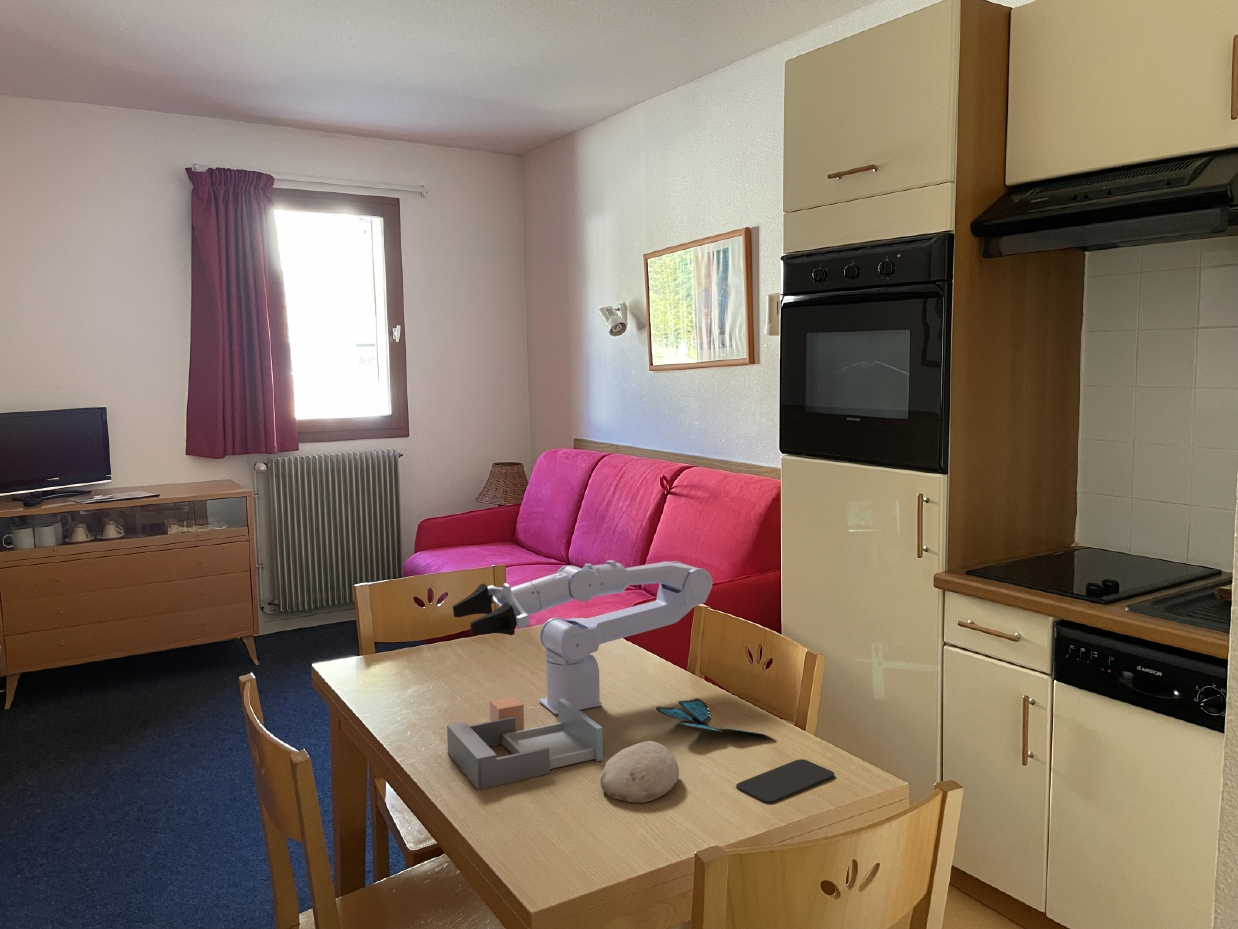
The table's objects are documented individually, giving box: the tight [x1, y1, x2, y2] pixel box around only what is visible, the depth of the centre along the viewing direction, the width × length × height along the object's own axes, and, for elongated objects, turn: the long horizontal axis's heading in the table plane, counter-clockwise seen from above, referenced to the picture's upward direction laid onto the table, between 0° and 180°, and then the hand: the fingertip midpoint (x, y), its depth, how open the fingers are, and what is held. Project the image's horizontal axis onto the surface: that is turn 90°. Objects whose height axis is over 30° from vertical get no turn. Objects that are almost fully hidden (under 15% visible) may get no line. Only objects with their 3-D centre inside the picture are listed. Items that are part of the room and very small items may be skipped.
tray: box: [501, 699, 604, 770], centre depth 150 cm, size 12×15×5 cm
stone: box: [600, 740, 680, 804], centre depth 137 cm, size 13×10×8 cm
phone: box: [735, 758, 835, 805], centre depth 138 cm, size 7×1×15 cm
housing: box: [446, 717, 551, 791], centre depth 146 cm, size 12×15×5 cm
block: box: [489, 696, 525, 731], centre depth 159 cm, size 4×4×5 cm
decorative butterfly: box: [655, 698, 767, 735], centre depth 158 cm, size 20×14×3 cm
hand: (462, 620), depth 159 cm, fingers open, 7 cm apart
